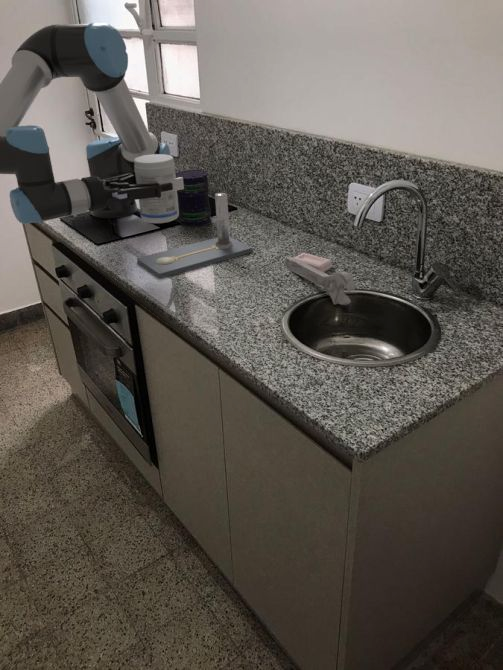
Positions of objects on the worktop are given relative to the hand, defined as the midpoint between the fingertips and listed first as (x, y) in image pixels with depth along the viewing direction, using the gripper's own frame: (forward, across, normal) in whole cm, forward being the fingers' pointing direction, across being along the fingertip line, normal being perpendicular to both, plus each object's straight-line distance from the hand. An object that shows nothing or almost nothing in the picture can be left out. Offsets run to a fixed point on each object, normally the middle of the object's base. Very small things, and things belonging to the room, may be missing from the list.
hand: (172, 179), depth 136 cm
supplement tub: (-4, 0, -9) cm, 10 cm away
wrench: (+17, +35, -22) cm, 45 cm away
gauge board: (+4, 0, -21) cm, 22 cm away
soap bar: (+24, +24, -22) cm, 41 cm away
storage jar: (+19, -25, -21) cm, 38 cm away
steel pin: (+13, 0, -20) cm, 24 cm away
